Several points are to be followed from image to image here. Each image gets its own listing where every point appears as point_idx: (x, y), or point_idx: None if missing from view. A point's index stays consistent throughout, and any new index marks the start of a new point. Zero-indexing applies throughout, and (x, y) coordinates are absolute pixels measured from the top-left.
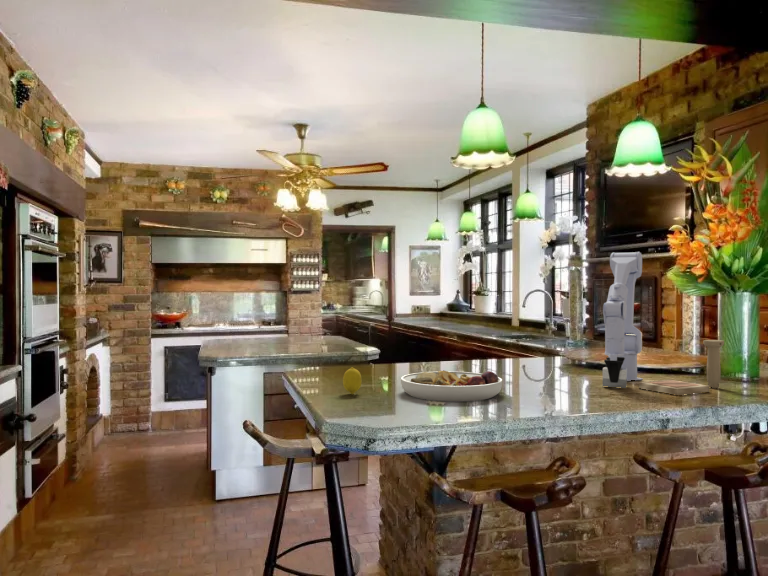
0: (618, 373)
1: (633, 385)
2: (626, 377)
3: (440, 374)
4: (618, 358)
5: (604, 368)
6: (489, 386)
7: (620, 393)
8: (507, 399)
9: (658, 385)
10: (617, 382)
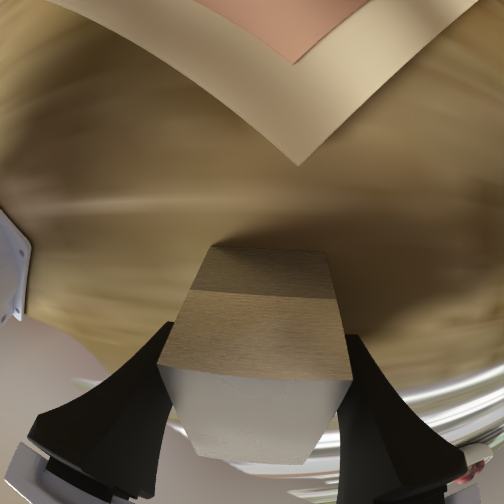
0: (391, 391)
1: (121, 199)
2: (248, 301)
3: None
4: (113, 481)
5: (278, 461)
6: (489, 453)
7: (485, 283)
8: (480, 432)
9: (430, 15)
10: (357, 335)
